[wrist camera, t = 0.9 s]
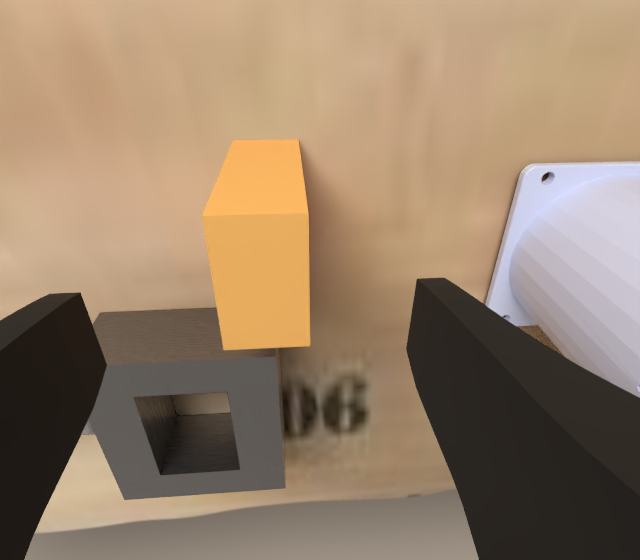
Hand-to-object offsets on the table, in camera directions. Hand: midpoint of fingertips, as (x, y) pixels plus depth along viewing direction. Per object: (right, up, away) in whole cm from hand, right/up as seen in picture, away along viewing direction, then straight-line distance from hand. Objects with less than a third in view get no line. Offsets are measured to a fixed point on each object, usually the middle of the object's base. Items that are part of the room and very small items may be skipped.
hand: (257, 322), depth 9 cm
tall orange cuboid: (-1, +4, +7) cm, 8 cm away
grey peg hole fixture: (-9, -4, +12) cm, 15 cm away
